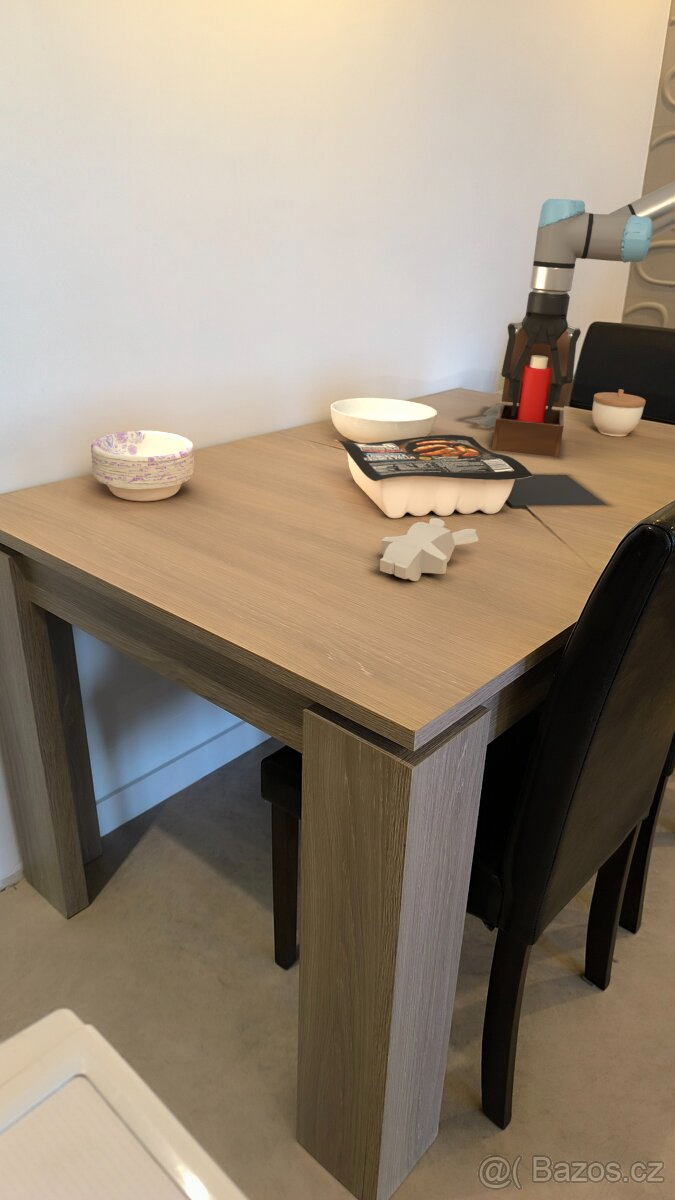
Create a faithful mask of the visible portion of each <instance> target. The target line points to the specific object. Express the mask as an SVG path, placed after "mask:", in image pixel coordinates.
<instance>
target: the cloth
mask: <svg viewBox="0 0 675 1200" xmlns="http://www.w3.org/2000/svg"><path fill="white" fill-rule="evenodd" d="M501 404H502V403H496V404H495V405H493V406H492V407H489V408H488V409H486V410H485V411H484V412H483V413H482V414H483V415H482V416H478V417H472V418H467V419H465V421H477V422H476V424H479V425H483V426H486V427H485V428H486V429H495V423H496V418H497V415H498V412H499V409H500V406H501ZM506 404H509V402H506Z"/></svg>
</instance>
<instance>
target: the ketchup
mask: <svg viewBox="0 0 675 1200" xmlns="http://www.w3.org/2000/svg"><path fill="white" fill-rule="evenodd" d="M547 363H548V357H546V356H539V355H533V356H531V361H530V365H526V366H524V373H523V379H522V386H521V393H520V400H519V403H518V405H519V407H518V414H517V420H521V421H530V422H540V423H543V422H544V415H545V409H546V408H547V406H546V403H547V397H548V390H549V384H550V378H551V372H552V368H550V367H547Z"/></svg>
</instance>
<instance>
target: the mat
mask: <svg viewBox="0 0 675 1200" xmlns="http://www.w3.org/2000/svg"><path fill="white" fill-rule="evenodd" d="M532 475H533V476H532V477H527V478H521V479H515V481H514V484H513V487H512V490H511V492H510V494H509V497H508V498H507V500H506V501H505V503H506V504H507V506H509V508H510V509H529V507H528V506H607V504H606V503H605V502H603V501H602V500H601V499H599V498H598V497H597V496H596V495H594V494H593V493H591V492H590V491H588V490H587V489H586V488H585V487H583V486H582V485H581V484H579V483H578V482H577V481H575V480H574V479H573V478H571V477H570V476H568V475H567V474H532Z"/></svg>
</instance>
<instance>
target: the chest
mask: <svg viewBox="0 0 675 1200" xmlns="http://www.w3.org/2000/svg"><path fill="white" fill-rule="evenodd" d="M500 404H501V406H500V409H499V412H498V415H497V418H496V423H495V428H494V431H493V440H492V446H491V450H492V451H500V452H508V453H515V454H516V453H517V454H526V455H534V456H544V457H551V458H559V456H560V451H561V443H562V438H563V434H564V433H563V432H564V427H565V425H564V424H565V420H564V419H565V417H564V416H565V412H564V411H565V410H564V409H558V408H552V411H551V417H550V420H546V416H547V409H548V407H546V409H545V415H544V422H543V423H540V422H530V421H521V420H517V414H518V407H519V404H517V407H516V414H515V416H511V412H512V405H513V404H509V403H508V404H507V403H500Z"/></svg>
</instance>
